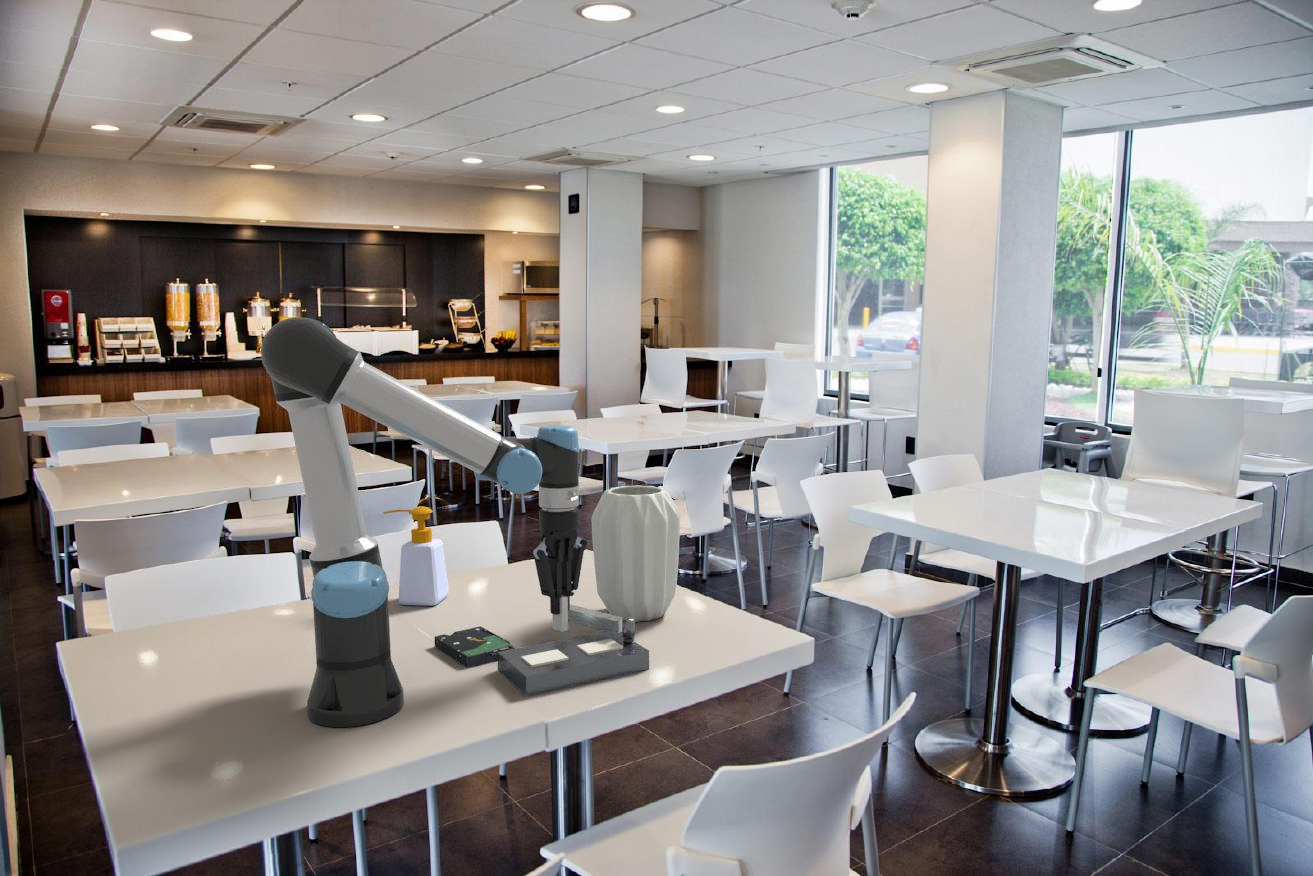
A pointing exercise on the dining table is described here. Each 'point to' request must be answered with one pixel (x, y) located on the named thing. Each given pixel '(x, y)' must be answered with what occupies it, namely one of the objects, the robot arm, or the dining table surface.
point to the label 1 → (544, 658)
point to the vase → (636, 550)
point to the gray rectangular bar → (602, 621)
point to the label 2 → (599, 647)
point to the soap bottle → (422, 564)
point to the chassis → (571, 663)
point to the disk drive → (472, 646)
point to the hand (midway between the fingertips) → (560, 629)
